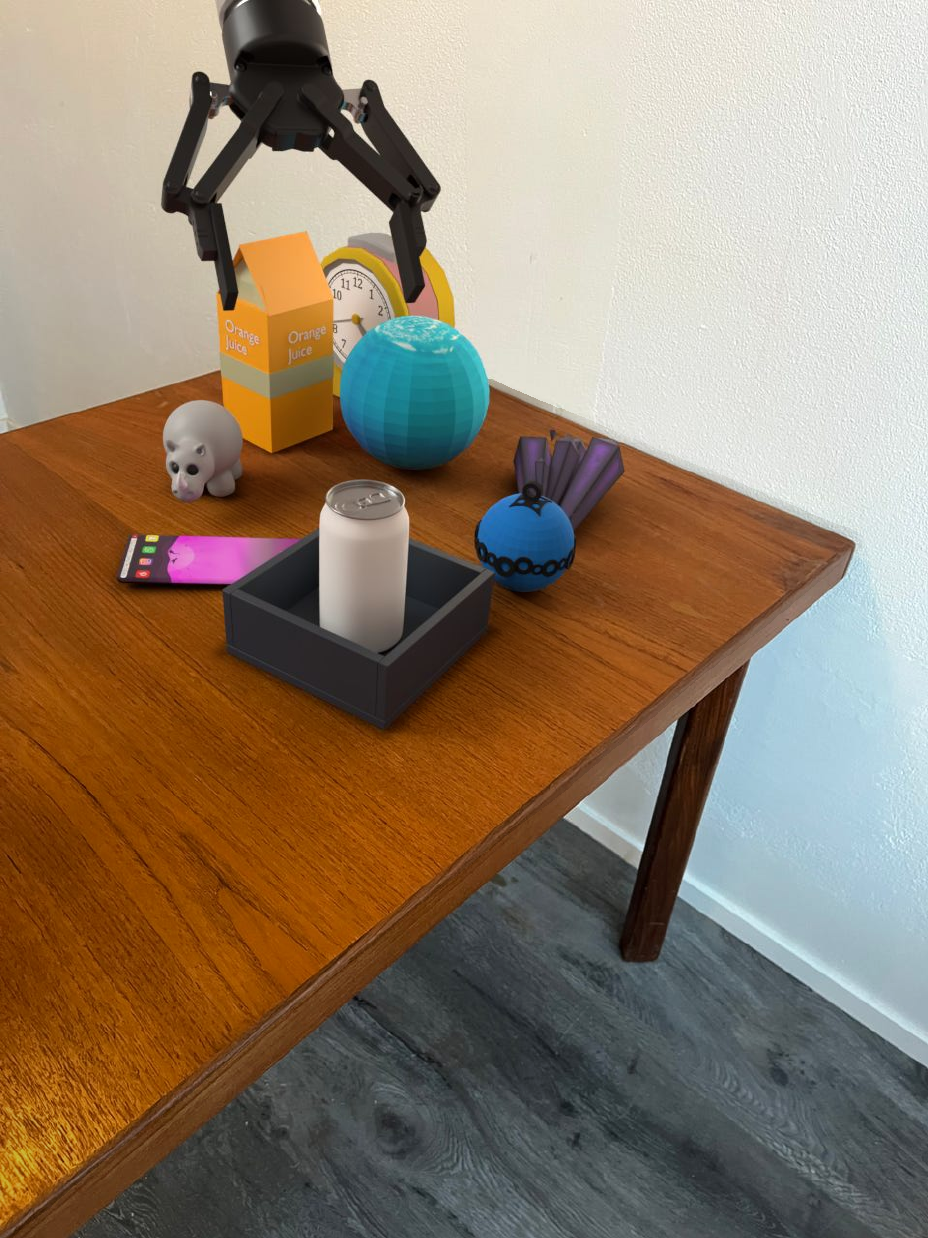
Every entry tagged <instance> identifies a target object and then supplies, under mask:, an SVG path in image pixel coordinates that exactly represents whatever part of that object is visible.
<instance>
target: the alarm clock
mask: <svg viewBox="0 0 928 1238" xmlns="http://www.w3.org/2000/svg"><path fill="white" fill-rule="evenodd" d="M419 258H420V262H421V267H422V272H423V277H424V281H425V287H424V289H423V291H422V292H421V294H420V295H419V297H418V299H417V300H416V302H415V303H405V299H404V294H403V289H402V284H401V280H400V275H399V270H398V265H397V260H396V255H395V251H394V246H393V241H392V236H391V234H388V233H383V232H368V233H367V232H366V233H362V234H355V235H352V236H348V238H347V245H345V246H341V247H338V248H337V249H335V250H334V251H332V252H331V253H329V254H327V255H326V256H323V258H322V260H321V262H320V265H321V268H322V270H323V272H324V275H325V277H326V280H327V282H328V285H329V287H330V290H331V292H332V295H333V297H334V309H333V354H334V377H333V396H336V397H339V398H340V380H341V373H342V370H343V366H344V363H345V361H346V359H347V357H348V355H349V353H350V352H351V350H352V349H353V348H354V346H355V345H356V344H357V342H358V341H359V340H360V339H361V338H362V337H363V336H364V335H365V334H366V333H367V332H368V331H369V330H371V329H372V328H374V327H375V326H377V325H379V324H381V323H383V322H386V321H388V320H390V319H394V318H398V317H404V316H424V317H429V318H433V319H436V320H439V321H442V322H444V323H446V324H448V325H450V326H452V327H453V328H455V327H456V317H455V316H456V315H455V304H454V303H455V300H454V295H453V292H452V289H451V287H450V284H449V280H448V278H447V275H446V272H445V269H444V268H443V267H442V266H441V265H440V263H439V262H438V261H437V259H436V257H434V255H433V254H432V253H431V251H430V250H429V249H428V248H427V247H425V249H424V251H423V253H422V254H421V256H419Z"/></svg>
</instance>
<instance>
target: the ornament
mask: <svg viewBox="0 0 928 1238" xmlns="http://www.w3.org/2000/svg"><path fill="white" fill-rule="evenodd" d="M529 488H533V489H534V490H535V491H536V494H532V493H531V492H530V491H529ZM542 495H543V488H542V486H541V485H540V484H539V483H538V482H536V481H529V482H527V483H526V484H525V485H524V487H523V489H522V493H520V494H519V493H515V494H512V495H511V494H510V495H509V496H505V497H504V498H502V499H500V500H498V501H497V502H496V503H494V504H493V505H492V506H491V507H490V508H489V509H488V510H487V511H486V513H485V514H484V515H483V517H482V518H481V519H480V520H479V521H478V522H477V523H476V524H475V529H474V535H473V536H474V537H473V538H474V542H473V543H474V549H475V553H476V556H477V558H478V561H479V562H480V564H481V567H483V568H486V569H488V570H491V571H493V572H495V575H494V583H496V584H497V585H500V586H502V587H503V588H505V589H507V590H509V591H514V592H520V593H529V592H535V591H539V590H542V589H545V588H547V587H549V586H551V585H552V584H554V583H556V582H557V581H558V580H559V579H560V578H561V577H562V576H563V575H564V574H565V573H566V571H567V570H568V571H569V570H570V569H571V567H572V566H573V564H574V560H575V557H576V554H577V553H576V551H577V548H576V547H577V539H578V537H577V535H575V533H574V532H575V531H574V532H573V528H572V525H571V523H570V520H569V518H568V517H567V515H566V514H565V513H564V511H563V510H562V509H561V508H560V507H559V506H558V505H557V504H556V503H554V502H553V501H551V500H550V499H548V498H546V497H543V496H542Z"/></svg>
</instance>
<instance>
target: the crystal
mask: <svg viewBox="0 0 928 1238" xmlns="http://www.w3.org/2000/svg"><path fill="white" fill-rule="evenodd" d="M549 432H550V434H549V435H550V442H551V443H552V442H553V441H554V439H555V438H556V436H558V434H557V431H556V429H550V430H549ZM512 461H513V467H514V473H515V477H516V484H517V490H518V494H520V493H522V489H523V487H524V485H525V484H526V483H527V482H529V481H536V482H538V483H539V484H540V485H541V486H542V488H543V495H542V496H543V497H546V498H548V499H550V500H551V501H553V502H554V503H556V504H557V505H558V506H559V507H560V508H561V509H562V510H563V511H564V513H565V514H566V515H567V517H568V518H569V520H570V523H571V525H572V528H573V532H575V531H576V530H577V528H578V527H579V526H580V525H581V524H582V523H583V521H584V520H585V519H586V518H587V517H588V516H589V514H590V513H591V512H592V511H593V510H594V508H595V507H596V506H597V505H598V504H599V503H600V501H601V500H602V499H603V498H604V497H605V495H606V494H607V493H608V492H609V491H610V489H611V488H612V487H613V486H614V485H615V484H616V482H617V481H618V480H619V479H620V478H621V476H622V475H623V474H624V473H625V466H624V460H623V456H622V451H621V446H620V445H619V444H618V443H617V442H616V441H615V440H614V439H612V438H605V437H595V436H592V437H591V439H590V441H589V444H588V446H587V448H586V446H585V443H584V441H583V440H582V438H581V437H576V438H575V437H574V436H573V435H572V434H567V435H565V436H563V437H560V438H558V439H556V440H555V442H554V447H553V451H552V454H551V449H550V446H549V442H548V437H545V436H544V437H543V436H524V435H520V436H519V438H518V442H517V445H516V450H515V453H514V457H513V460H512ZM529 491H530V492H531V493H532V494H536V491H535V490H534V489H533V488H529Z"/></svg>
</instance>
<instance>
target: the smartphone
mask: <svg viewBox="0 0 928 1238" xmlns="http://www.w3.org/2000/svg"><path fill="white" fill-rule="evenodd" d="M300 539H301V538H276V537H244V536H243V537H241V536H208V535H207V536H205V535H198V536H197V535H174V534H173V535H172V534H171V535H170V534H167V535H166V534H136V533H134V534H133V533H131V534H128V538H127V541H126V544H125V548H124V551H123V554H122V557H121V561H120V564H119V567H118V570H117V573H116V580H117V582H118V583H119V584H144V585H147V584H148V585H150V584H151V585H190V586H191V585H193V586H197V585H198V586H229V585H231V584H232V583H234V582H235V581H237V580H238V579H240V578H242V577H243V576H245V575H246V574H248V573H249V572H251V571H252V570H254V569H255V568H257V567H259V566H260V565H262V564H263V563H265V562H266V561H268V560H269V559H271V558H273V557H274V556H276V555H277V554H279V553H280V552H282V551H283V550H285V549H286V548H288V547H290V546H291V545H293V544H294V543H296V542H297V541H299V540H300Z"/></svg>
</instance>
